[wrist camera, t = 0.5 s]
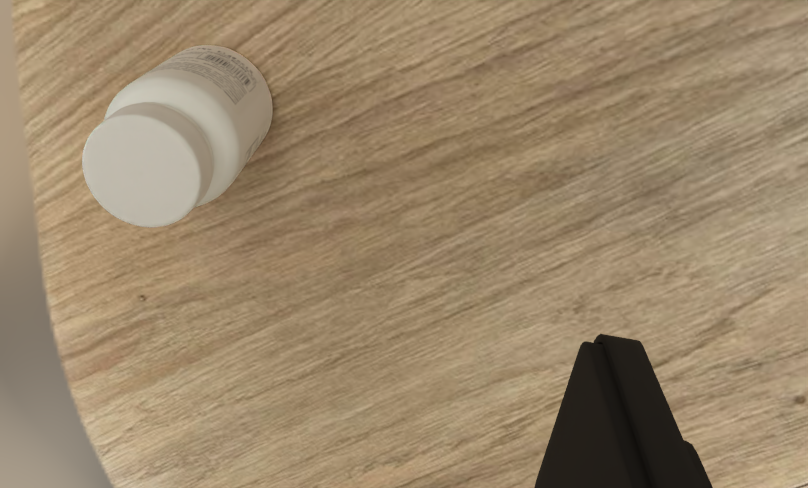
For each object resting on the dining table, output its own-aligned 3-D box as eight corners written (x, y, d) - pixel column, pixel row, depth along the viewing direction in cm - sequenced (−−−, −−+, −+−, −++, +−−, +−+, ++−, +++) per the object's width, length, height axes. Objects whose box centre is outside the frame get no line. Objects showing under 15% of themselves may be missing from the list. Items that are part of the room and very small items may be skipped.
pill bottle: (144, 51, 27) (40, 108, 20) (260, 35, 27) (195, 88, 20) (176, 163, 29) (91, 251, 22) (285, 150, 29) (233, 236, 22)
